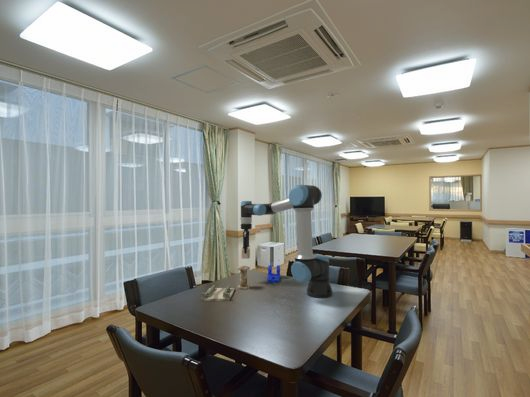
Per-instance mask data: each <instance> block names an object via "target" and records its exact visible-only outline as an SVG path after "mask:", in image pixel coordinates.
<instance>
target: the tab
mask: <svg viewBox="0 0 530 397" xmlns="http://www.w3.org/2000/svg"><path fill="white" fill-rule="evenodd" d="M247 248H248V247H247ZM250 258H251V248H250V247H249V248H248V258H244V249H243V248H241V259H250Z"/></svg>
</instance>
